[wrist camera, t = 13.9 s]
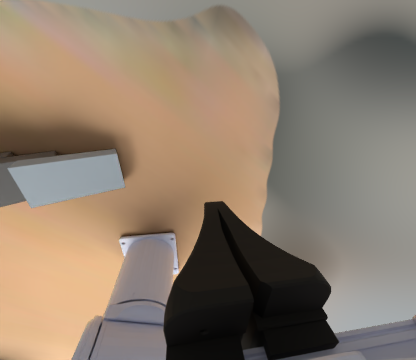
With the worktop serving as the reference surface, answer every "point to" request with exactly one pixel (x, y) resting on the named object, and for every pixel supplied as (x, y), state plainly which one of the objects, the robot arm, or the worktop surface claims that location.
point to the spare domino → (67, 176)
